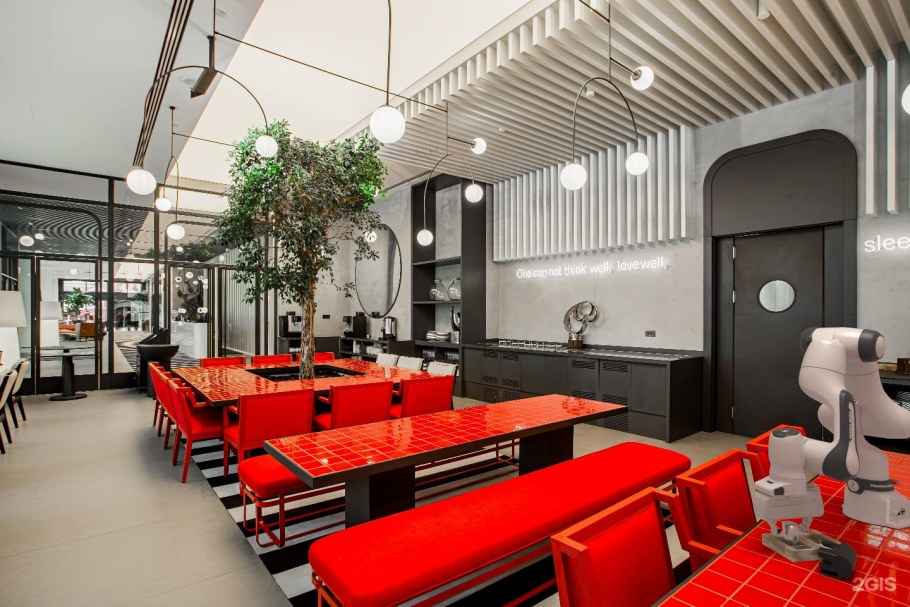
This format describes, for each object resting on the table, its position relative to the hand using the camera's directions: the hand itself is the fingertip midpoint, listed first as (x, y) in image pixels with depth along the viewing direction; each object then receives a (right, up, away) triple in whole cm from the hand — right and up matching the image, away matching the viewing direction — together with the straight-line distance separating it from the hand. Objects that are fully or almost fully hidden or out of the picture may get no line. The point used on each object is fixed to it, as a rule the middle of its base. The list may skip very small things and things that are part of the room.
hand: (790, 532), depth 137 cm
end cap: (+4, -5, -12) cm, 14 cm away
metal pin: (0, -5, 0) cm, 5 cm away
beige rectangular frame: (+4, -5, 0) cm, 7 cm away
